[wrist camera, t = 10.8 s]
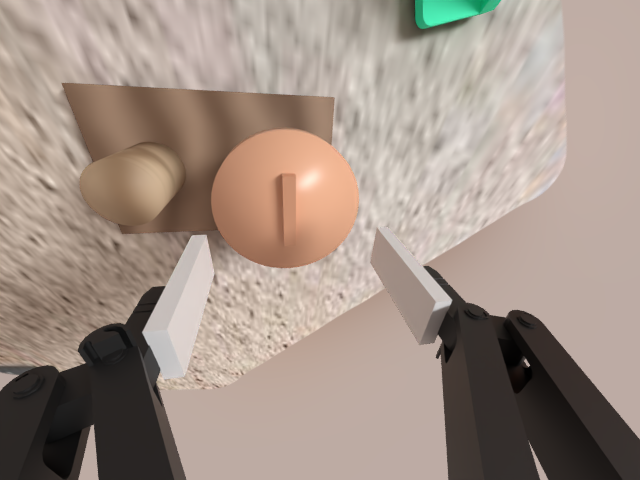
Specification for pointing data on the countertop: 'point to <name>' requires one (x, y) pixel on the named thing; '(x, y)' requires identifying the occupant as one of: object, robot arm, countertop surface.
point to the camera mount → (449, 10)
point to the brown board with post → (173, 147)
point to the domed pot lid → (284, 198)
